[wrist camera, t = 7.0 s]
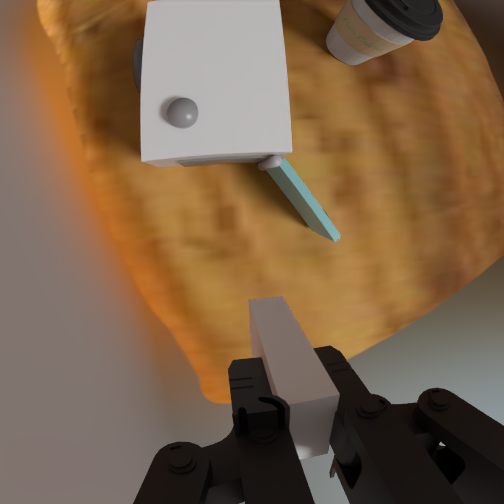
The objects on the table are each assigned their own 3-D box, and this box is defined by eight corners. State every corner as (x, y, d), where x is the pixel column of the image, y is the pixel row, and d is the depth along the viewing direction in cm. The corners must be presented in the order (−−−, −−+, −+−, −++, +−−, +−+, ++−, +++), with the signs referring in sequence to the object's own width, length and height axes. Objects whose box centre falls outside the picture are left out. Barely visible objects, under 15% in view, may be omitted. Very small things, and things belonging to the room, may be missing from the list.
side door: (255, 165, 31) (268, 159, 24) (270, 153, 30) (287, 145, 23) (307, 232, 33) (331, 245, 26) (321, 221, 33) (348, 231, 26)
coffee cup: (307, 61, 28) (364, -1, 14) (317, 9, 27) (365, -55, 12) (374, 87, 30) (452, 52, 16) (379, 35, 28) (444, -9, 14)
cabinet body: (150, 43, 26) (132, 0, 16) (262, 36, 27) (280, -8, 18) (149, 171, 29) (122, 166, 20) (270, 162, 31) (295, 154, 21)
